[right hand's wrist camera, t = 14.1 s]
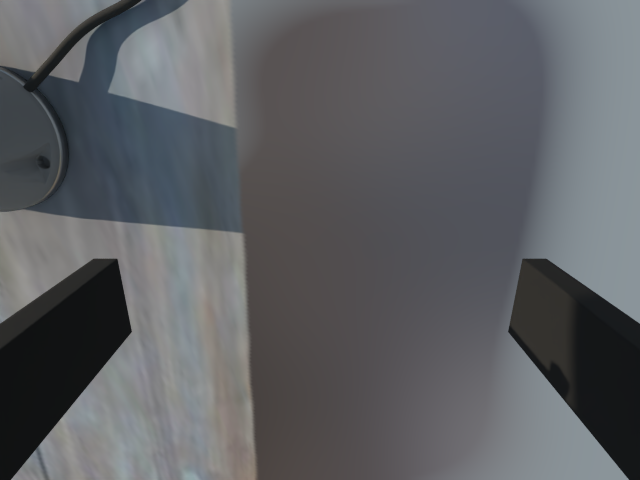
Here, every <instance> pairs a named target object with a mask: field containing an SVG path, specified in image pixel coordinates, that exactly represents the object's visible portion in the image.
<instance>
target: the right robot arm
mask: <svg viewBox="0 0 640 480" xmlns="http://www.w3.org/2000/svg"><path fill="white" fill-rule="evenodd" d="M140 1H141V0H121V1H119V2H118V3H116V4H114V5H112V6H110V7H108V8H106V9H104V10H102V11H100V12H99V13H97V14H95V15H93V16H92V17H90V18H88V19H87V20H86V21H84V22H83V23H81V24H80V25H79V26H78V27H77V28H75V29H74V30H73V31H72V32H71V33H70V34H69V35H68V36H67V37H66V38H65V39H64V41H63V42H62V43H61V44H60V45H59V46H58V47H57V49H56V50H55V51H54V52H53V53H52V55H51V56H50V57H49V58H48V59H47V60H46V61H45V62H44V63H43V65H42V66H41V67H40V68H39V69H38V70H37V71H36V72H35V74H34V75H33V76H32V77H31V78H30V79H29V80H28V81H26V80H25V79H24V78H22V77H21V76H19V75H17V74H16V73H14V72H12V71H10V70H8V69H5V68H3V67H0V212H7V211H15V210H20V209H24V208H27V207H30V206H33V205H36V204H38V203H40V202H43V201H44V200H46V199H47V198H49V197H50V196H51V195H52V194H53V193H54V192H55V191H56V190H57V189H58V188H59V186H60V185H61V183H62V181H63V179H64V177H65V174H66V171H67V166H68V144H67V139H66V135H65V132H64V129H63V126H62V124H61V122H60V119H59V118H58V116H57V114H56V112H55V111H54V109H53V107H52V106H51V105H50V103H49V102H48V101H47V99H46V98H45V97H44V96H43V95H42V94H41V93H40V92H39V91H38V90H37V89H36V88H37V87H38V86H39V85H40V83H41V82H42V81H43V80H44V79H45V78H46V77H47V76H48V75H49V73H50V72H51V71H52V70H53V69H54V68H55V67H56V66H57V65H58V64H59V62H60V61H61V60H62V59H63V58H64V57H65V55H66V54H67V53H68V52H69V51H70V50H71V48H72V47H73V46H74V45H75V44H76V43H77V42H78V41H79V40H80V39H81V38H82V37H83V36H85V35H86V34H87V33H88V32H89V31H91V30H92V29H94V28H95V27H97V26H98V25H100V24H101V23H103V22H105V21H107V20H109V19H111V18H113V17H115V16H117V15H119V14H121V13H122V12H124V11H126V10H128V9H130V8H131V7H133V6H134V5H136V4H137V3H138V2H140ZM131 332H132V331H131V326H130V321H129V315H128V310H127V305H126V300H125V295H124V290H123V285H122V280H121V275H120V270H119V265H118V260H117V259H93V260H91V261H90V262H88V263H87V264H85V265H84V266H83V267H81V268H80V269H78V270H77V271H75V272H74V273H73V274H71V275H70V276H68V277H67V278H65V279H64V280H62V281H61V282H60V283H58V284H57V285H55V286H54V287H52V288H51V289H50V290H48V291H47V292H45V293H44V294H42V295H41V296H39V297H38V298H37V299H35V300H34V301H32V302H31V303H29V304H28V305H27V306H25V307H24V308H22V309H21V310H19V311H18V312H16V313H15V314H14V315H12V316H11V317H9V318H8V319H6V320H5V321H4V322H2V323H1V324H0V480H11V479H12V478H13V476H14V475H15V474H16V473H17V472H18V470H19V469H20V468H21V467H22V465H23V464H24V463H25V462H26V461H27V459H28V458H29V457H30V456H31V454H32V453H33V452H34V451H35V450H36V448H37V447H38V446H39V445H40V443H41V442H42V441H43V440H44V439H45V437H46V436H47V435H48V434H49V432H50V431H51V430H52V429H53V428H54V426H55V425H56V424H57V423H58V421H59V420H60V419H61V418H62V416H63V415H64V414H65V413H66V412H67V410H68V409H69V408H70V407H71V405H72V404H73V403H74V402H75V401H76V399H77V398H78V397H79V396H80V394H81V393H82V392H83V391H84V390H85V388H86V387H87V386H88V385H89V383H90V382H91V381H92V380H93V379H94V377H95V376H96V375H97V374H98V372H99V371H100V370H101V369H102V368H103V366H104V365H105V364H106V363H107V361H108V360H109V359H110V358H111V357H112V355H113V354H114V353H115V352H116V350H117V349H118V348H119V347H120V346H121V344H122V343H123V342H124V341H125V339H126V338H127V337H128V336H129V335H130V333H131ZM508 332H509V333H510V335H511V336H512V337H513V338H514V339H515V341H516V342H517V343H518V344H519V346H520V347H521V348H522V349H523V350H524V351H525V353H526V354H527V355H528V357H529V358H530V359H531V360H532V361H533V363H534V364H535V365H536V366H537V368H538V369H539V370H540V371H541V372H542V374H543V375H544V376H545V377H546V379H547V380H548V381H549V382H550V383H551V385H552V386H553V387H554V388H555V390H556V391H557V392H558V393H559V394H560V396H561V397H562V398H563V399H564V401H565V402H566V403H567V404H568V405H569V407H570V408H571V409H572V410H573V412H574V413H575V414H576V415H577V416H578V418H579V419H580V420H581V421H582V423H583V424H584V425H585V426H586V428H587V429H588V430H589V431H590V432H591V434H592V435H593V436H594V437H595V439H596V440H597V441H598V442H599V443H600V445H601V446H602V447H603V448H604V450H605V451H606V452H607V453H608V454H609V456H610V457H611V458H612V459H613V461H614V462H615V463H616V464H617V465H618V467H619V468H620V469H621V470H622V471H623V473H624V474H625V475H626V476H627V478H628V479H629V480H640V324H639V323H638V322H636V321H635V320H634V319H632V318H631V317H629V316H628V315H626V314H625V313H624V312H622V311H621V310H619V309H618V308H616V307H615V306H613V305H612V304H611V303H609V302H608V301H606V300H605V299H603V298H602V297H601V296H599V295H598V294H596V293H595V292H593V291H592V290H590V289H589V288H588V287H586V286H585V285H583V284H582V283H580V282H579V281H578V280H576V279H575V278H573V277H572V276H570V275H569V274H567V273H566V272H565V271H563V270H562V269H560V268H559V267H557V266H556V265H555V264H553V263H552V262H550V261H549V260H547V259H523V260H522V265H521V270H520V275H519V280H518V285H517V290H516V295H515V300H514V305H513V310H512V316H511V321H510V326H509V331H508Z"/></svg>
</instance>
